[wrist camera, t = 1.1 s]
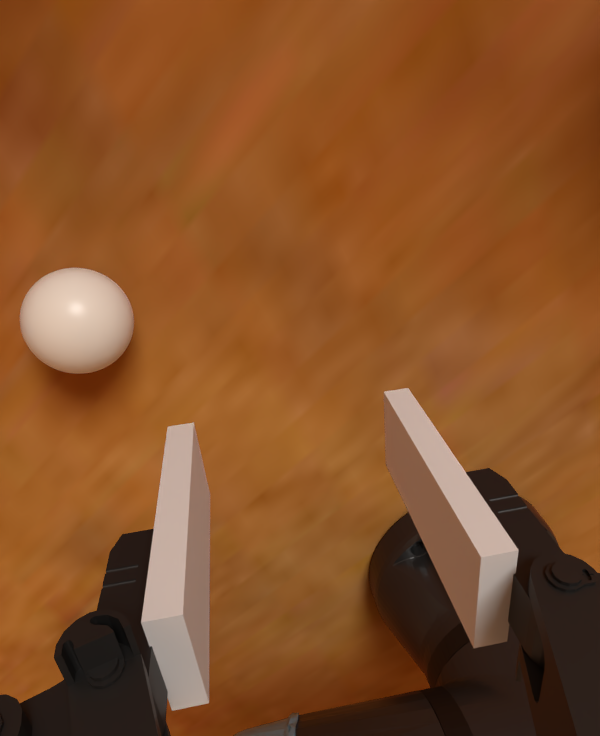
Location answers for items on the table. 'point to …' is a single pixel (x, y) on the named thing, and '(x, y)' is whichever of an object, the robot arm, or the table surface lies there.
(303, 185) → the table surface
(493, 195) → the table surface
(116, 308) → the cue ball
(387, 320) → the table surface
